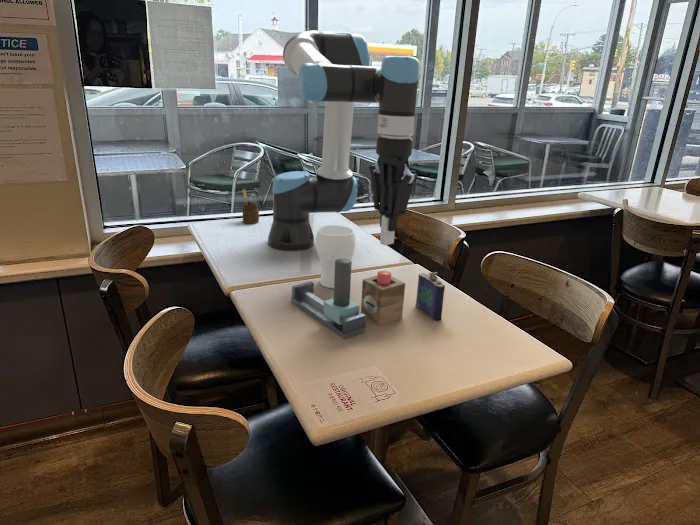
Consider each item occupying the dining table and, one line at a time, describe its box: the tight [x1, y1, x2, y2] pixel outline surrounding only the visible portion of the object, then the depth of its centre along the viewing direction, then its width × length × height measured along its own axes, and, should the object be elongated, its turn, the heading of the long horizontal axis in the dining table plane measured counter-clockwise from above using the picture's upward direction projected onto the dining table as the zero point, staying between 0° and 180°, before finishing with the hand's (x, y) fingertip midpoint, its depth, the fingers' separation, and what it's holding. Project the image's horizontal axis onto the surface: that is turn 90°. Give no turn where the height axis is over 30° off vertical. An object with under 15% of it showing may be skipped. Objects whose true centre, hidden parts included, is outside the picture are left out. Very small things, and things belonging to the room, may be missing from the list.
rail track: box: [291, 281, 367, 340], centre depth 116 cm, size 22×6×4 cm, turn 38°
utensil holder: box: [241, 188, 260, 225], centre depth 183 cm, size 6×6×12 cm
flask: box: [415, 271, 446, 322], centre depth 119 cm, size 9×3×11 cm, turn 27°
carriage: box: [323, 259, 361, 325], centre depth 110 cm, size 6×6×13 cm
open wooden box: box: [360, 275, 406, 326], centre depth 116 cm, size 7×8×9 cm
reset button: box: [376, 270, 392, 286], centre depth 115 cm, size 3×3×4 cm
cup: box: [314, 224, 357, 289], centre depth 133 cm, size 11×11×15 cm
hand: (386, 243), depth 111 cm, fingers closed
